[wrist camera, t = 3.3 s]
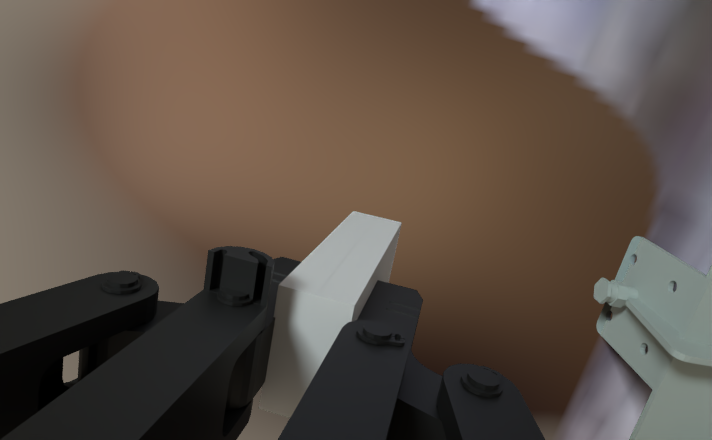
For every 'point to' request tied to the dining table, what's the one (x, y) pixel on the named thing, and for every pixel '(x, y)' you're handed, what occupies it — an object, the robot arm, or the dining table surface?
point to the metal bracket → (663, 338)
